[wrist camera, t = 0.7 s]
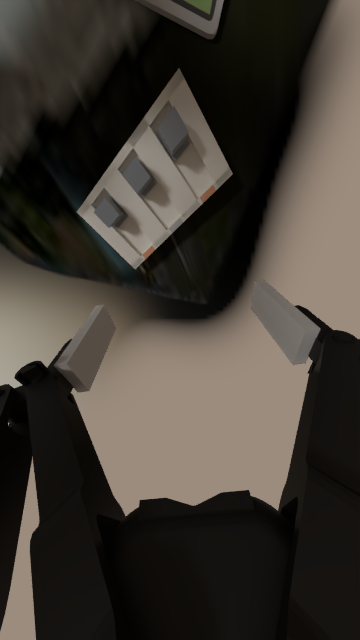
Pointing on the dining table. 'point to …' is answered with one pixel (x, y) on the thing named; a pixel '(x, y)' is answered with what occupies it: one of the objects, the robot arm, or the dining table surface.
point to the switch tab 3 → (173, 134)
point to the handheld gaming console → (190, 13)
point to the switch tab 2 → (139, 177)
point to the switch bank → (159, 178)
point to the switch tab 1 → (110, 213)
